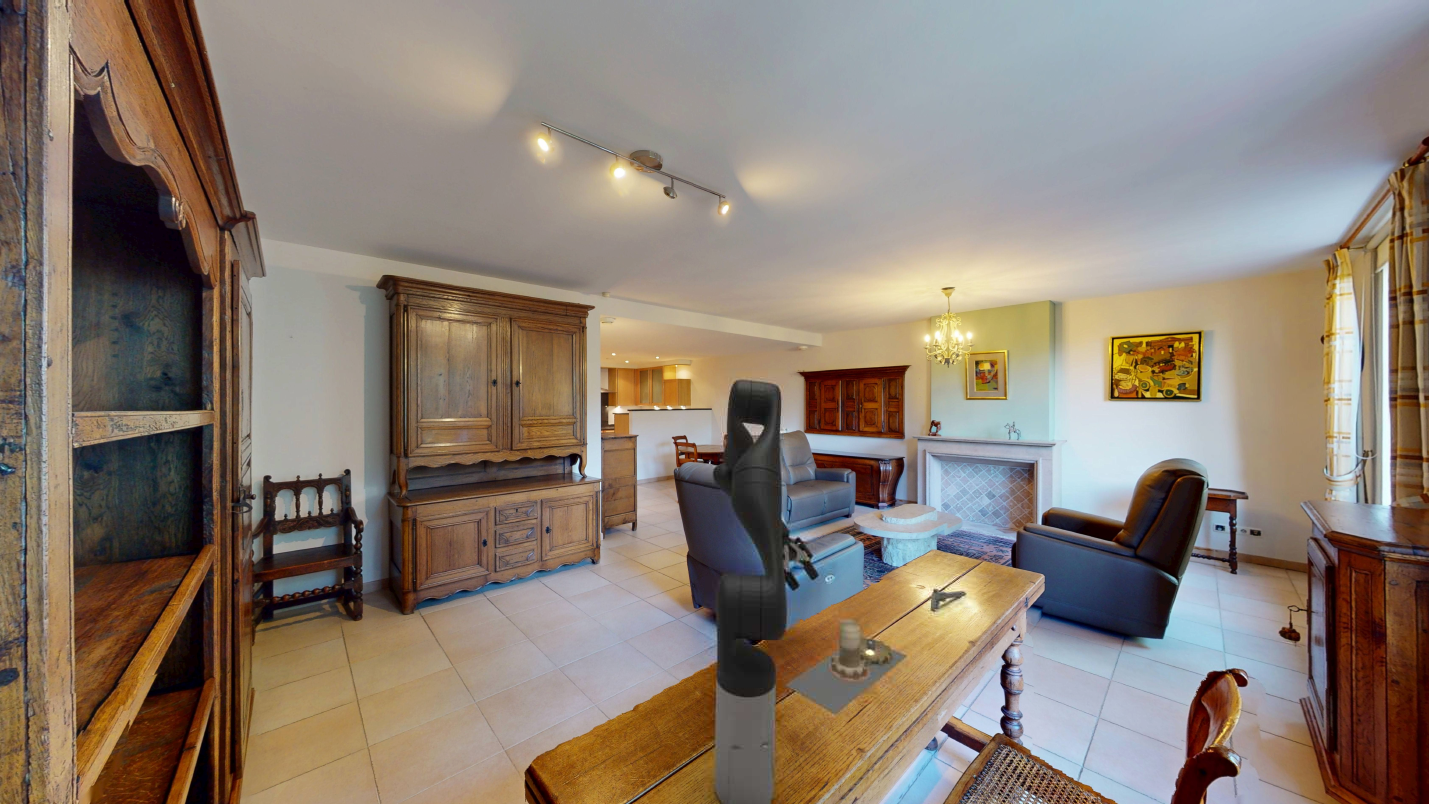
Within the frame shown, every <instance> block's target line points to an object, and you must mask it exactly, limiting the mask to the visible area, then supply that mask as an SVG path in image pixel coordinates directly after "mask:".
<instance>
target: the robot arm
mask: <svg viewBox="0 0 1429 804" xmlns="http://www.w3.org/2000/svg"><path fill="white" fill-rule="evenodd" d="M726 414H727V415H726V418H727V419H726V441H725V447H724V450H723V456H722V459H723V462H722V463H720V464H718V465H716V466H715V467H714V468H713V470H712V478H713V482H714V483H715V484H716V486H717V487H718V488H719V489H720V491H722V492H723V493H725V495H726V496H728V497H729V498H730V502H731V506H732V510H733V512H734V514H735V516H736V518H737V520H738V521H739V523H740V524H741V526H742V527H743V529H744V530H745V532H746V534H747V535H748V536H749V538H750V539H751V541H752V543H753V544H754V546H755V548H756V550H757V552H758V555H759V558H760V561H761V564H762V566H763V570H764V574H761V575H760V574H743V573H726V574H723V575H722V576H721V577H720V578H719V580H718V583H717V586H716V592H715V594H716V595H715V617H716V642H717V643H716V644H717V646H716V647H717V648H716V676H715V677H716V681H715V682H716V685H715V688H716V689H715V730H714V731H715V732H714V733H715V734H714V735H715V738H714V739H715V740H714V746H715V747H714V791H715V794H716V796H717V798H718V800H719V801H720V802H721V804H771V803H772V802H771V801H772V799H773V798H774V797H773V796H774V792H775V791H774V789H775V787H774V786H775V784H774V783H775V734H776V733H775V732H776V728H775V726H776V693H777V692H776V688H777V687H776V686H777V685H776V683H777V669H776V667H777V666H776V663H775V660H774V659H773V658H772V656H771V655H770V654H769V653H768V652H766V651H764V650H763V649H762V648H759V647H757V646H755V645H753V644H751V643H749V642H747V641H746V640H752V641H753V640H755V641H759V640H760V641H779V640H781V639H783V637H784V636H785V633H786V629H787V624H788V623H787V622H788V621H787V620H788V606H787V604H788V603H787V602H788V600H787V589H786V584H787V586H788V587H789V588H790V589H791V591H793V592H794V591H796V590H797V589H799V588H800V583H799V582H798V580H797V579H796V577H795V575H794V574H793V572H792V571H790V563H791V562H793V563H794V564H795V563H797V564H799V565H800V566H802V567H803V570H804V571H805V573H806V574H807V576H808V578H809V579H810V580H811V581H815V580H816V579H817V578H819V573H818V571H817V569H816V568H815V567H814V565H813V564H812V562H811V561H812V558H814V555H813V553H812V552H811V551H810V549H809V548H808V546H807V545H806V544H805V543H804V542H803V540H802V539H801V537H799V536H797V537H796V538H795V539H794V540H793V539H792V538H791V537H790V534H791V531H790V529H789V528H788V526H787V525H786V524H785V522H784V521H783V519H782V518H783V517H782V516H783V515H782V514H783V489H782V488H783V485H782V484H783V483H782V481H783V480H782V469H781V448H780V447H781V446H780V445H781V443H780V442H781V441H780V439H781V422H782V421H781V419H782V418H781V417H782V392H781V390H780V387H779V386H778V385H777V384H775V383H771V382H766V381H758V380H751V379H750V380H749V379H737V380H735V381H734V382H733V383H732V385H731V387H730V391H729V397H728V402H727V413H726ZM745 424H748V425H749V424H751V425H758V426H763V429H762V431H761V433H760V435H759V436H758V438H757V439H756V441H754V438H753V436H752V434H751V432H749V430H748V428H747V427H746V426H745ZM805 553H806V554H805Z"/></svg>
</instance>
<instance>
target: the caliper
mask: <svg viewBox="0 0 1429 804" xmlns="http://www.w3.org/2000/svg"><path fill="white" fill-rule="evenodd" d="M932 591H933V592H932V593H931V598H930V610H931V611H933V612H935V611H936V610H935V609H938V610H939V607H940V603H941V602H942V603H943V602H944V603H946V600H948V599H954V598H955V599H956V598H962V596H963V597H965V596H966V594H967V592H966V591H963V590H955V591H947V592H946V591H940V589H938V588H933V590H932ZM964 595H965V596H964Z"/></svg>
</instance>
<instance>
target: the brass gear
mask: <svg viewBox="0 0 1429 804" xmlns="http://www.w3.org/2000/svg"><path fill="white" fill-rule="evenodd" d="M865 638H866V637H864V636H862V637H860V659H861V660H865V661H866V662H867V664H868V665H871V664H878V665H879V666H882V664H883V663H887V664H889V663H890V659H891V660H892V651H891V649H892V647H891V646H890V645H886V644H885V642H884V641H883V640H877V639H874V637H870V638H866V639H865Z"/></svg>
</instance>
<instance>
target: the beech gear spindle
mask: <svg viewBox="0 0 1429 804" xmlns="http://www.w3.org/2000/svg"><path fill="white" fill-rule="evenodd" d="M838 632H839V633H838V635H839V636H838V650H839V655H837V656H834V655H833V656H832V657H831V670H832V671H833V672H835V671H836V672H837V673H838V674H840V677H841V678H845V677H847V678H854V680H859V677H861V676H865V677H866V676H867V662H866V661H865V660H861V659H860V636H861V624H860V623H859V622H858V621H856V620H853V619H841V620H840V621H839V630H838Z"/></svg>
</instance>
